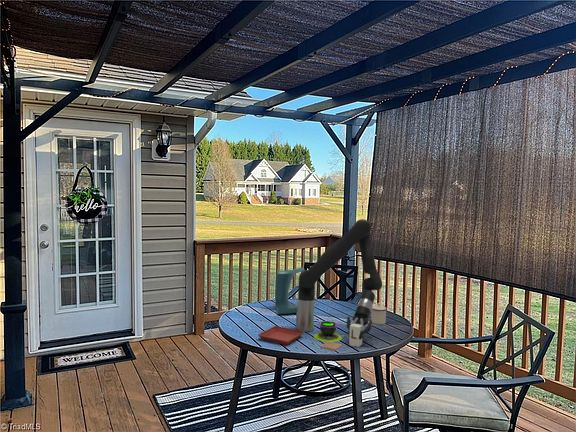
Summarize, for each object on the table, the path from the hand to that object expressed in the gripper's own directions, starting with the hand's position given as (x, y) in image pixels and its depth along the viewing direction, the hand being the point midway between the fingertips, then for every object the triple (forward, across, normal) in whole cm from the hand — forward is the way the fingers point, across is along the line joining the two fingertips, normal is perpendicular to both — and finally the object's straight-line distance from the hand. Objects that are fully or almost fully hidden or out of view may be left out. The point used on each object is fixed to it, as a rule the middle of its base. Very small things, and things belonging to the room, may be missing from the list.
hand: (354, 337), depth 210 cm
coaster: (+9, -9, -3) cm, 13 cm away
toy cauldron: (0, -17, +6) cm, 18 cm away
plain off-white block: (+2, 0, +4) cm, 5 cm away
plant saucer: (+12, -36, -5) cm, 38 cm away
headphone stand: (-24, -58, +30) cm, 69 cm away
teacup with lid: (-31, -5, +37) cm, 48 cm away
